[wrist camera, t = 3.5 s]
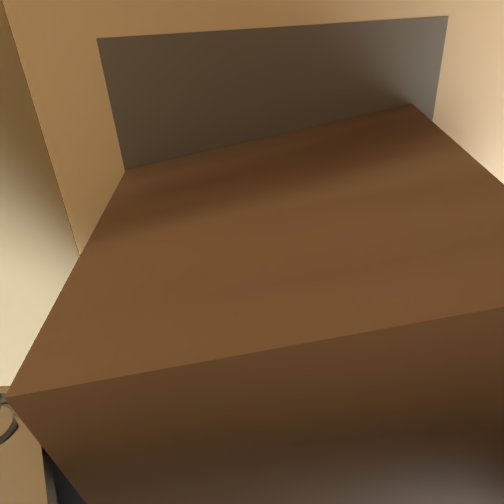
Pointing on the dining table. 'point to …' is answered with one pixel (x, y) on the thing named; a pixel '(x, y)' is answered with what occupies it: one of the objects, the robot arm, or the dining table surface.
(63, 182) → the letter
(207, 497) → the walnut block
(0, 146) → the dining table surface
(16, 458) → the robot arm
